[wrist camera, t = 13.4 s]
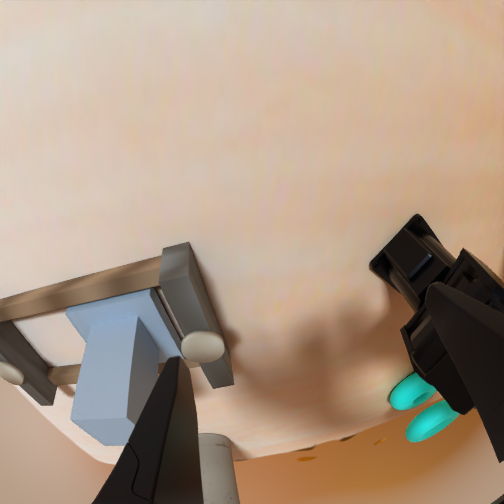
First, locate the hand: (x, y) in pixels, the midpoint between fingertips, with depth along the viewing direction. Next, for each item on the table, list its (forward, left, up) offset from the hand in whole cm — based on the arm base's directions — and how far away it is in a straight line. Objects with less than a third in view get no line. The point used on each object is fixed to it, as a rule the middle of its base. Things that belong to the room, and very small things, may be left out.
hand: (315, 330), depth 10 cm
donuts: (-43, +9, -13) cm, 46 cm away
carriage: (+1, +16, -13) cm, 21 cm away
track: (+3, +19, -13) cm, 23 cm away
